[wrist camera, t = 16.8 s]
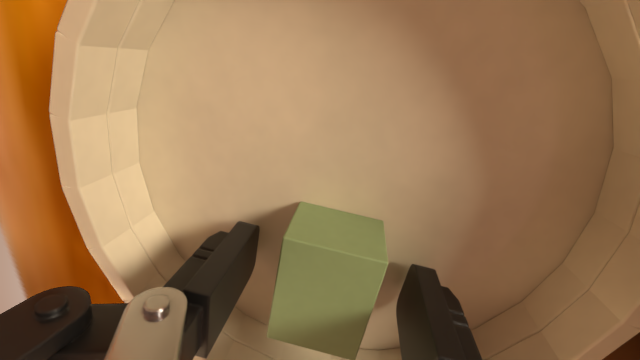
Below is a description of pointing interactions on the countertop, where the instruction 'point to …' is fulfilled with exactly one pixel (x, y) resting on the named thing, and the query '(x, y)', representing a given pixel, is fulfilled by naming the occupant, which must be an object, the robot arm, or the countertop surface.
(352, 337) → the green block
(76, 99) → the bowl
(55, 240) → the countertop surface
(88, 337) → the robot arm
